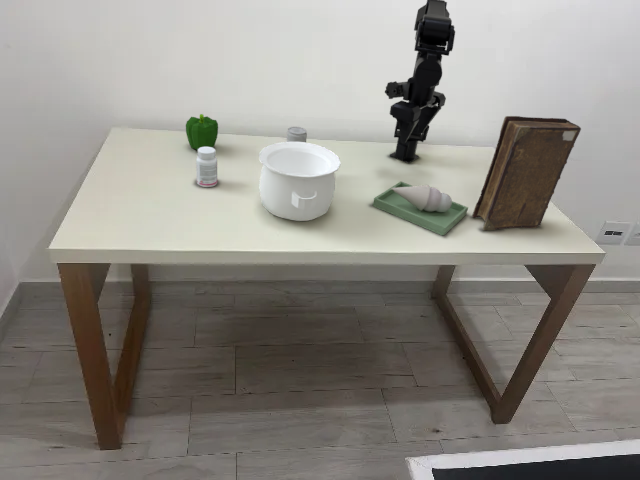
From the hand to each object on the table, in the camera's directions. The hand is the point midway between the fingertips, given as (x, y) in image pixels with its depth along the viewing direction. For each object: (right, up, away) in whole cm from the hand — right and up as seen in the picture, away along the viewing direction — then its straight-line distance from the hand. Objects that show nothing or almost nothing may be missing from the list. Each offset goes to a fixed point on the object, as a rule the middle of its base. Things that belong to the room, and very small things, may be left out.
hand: (411, 137), depth 125 cm
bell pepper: (-55, -1, +9) cm, 56 cm away
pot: (-29, -19, -13) cm, 36 cm away
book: (+21, -22, -8) cm, 32 cm away
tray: (+1, -19, -7) cm, 20 cm away
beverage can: (-30, -9, +1) cm, 31 cm away
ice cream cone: (0, -19, -8) cm, 20 cm away
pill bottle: (-50, -12, -7) cm, 52 cm away
